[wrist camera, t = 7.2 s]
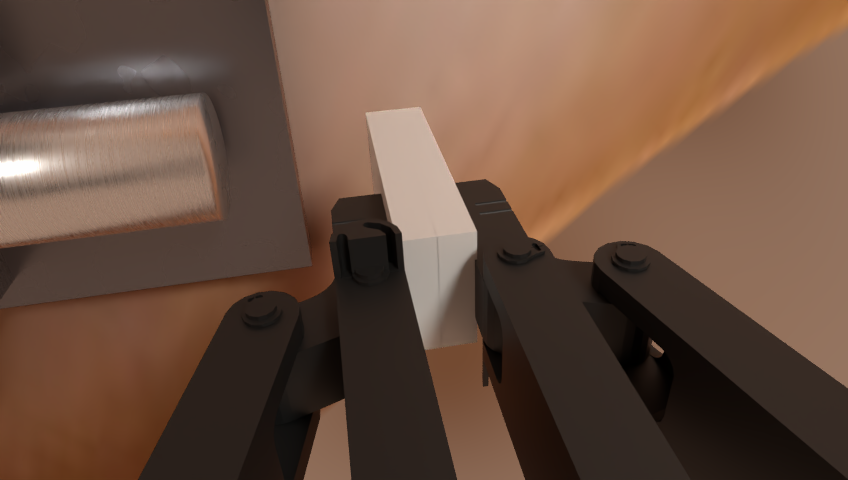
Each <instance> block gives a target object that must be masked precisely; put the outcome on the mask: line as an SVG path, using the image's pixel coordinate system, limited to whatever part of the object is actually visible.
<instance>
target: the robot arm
mask: <svg viewBox="0 0 848 480" xmlns="http://www.w3.org/2000/svg"><path fill="white" fill-rule="evenodd" d="M366 122H367V132H368V141H369V151H370V161H371V170H372V180H373V189H374V194H373V195H365V196H357V197H348V198H340V199H339V200H338V201H337V203H336V204H335V206H334V207H333V209H332V210H331V215H332V227H333V234H332V235H331V238H330V241H329V244H330V251H331V257H332V263H333V270H334V276H335V279H334V280H333V282H332V284H331V285H330V286H329V287H328V288H327V289H326V290H325V291H323V292H322V293H320V294H319V295H317V296H314V297H312V298H310V299H308V300H305V301H302V302H299V303H298V302H297V300H296V299H295V298H294V297H292V296H291V295H289V294H287V293H284V292H276V291H268V292H259V293H256V294H253V295H250V296H247V297H244V298H243V299H241V300H240V301H238V302H236V303H235V304H233V305H232V307H231V308H230V309H229V310H228V311H227V313H226V314H225V316H224V318H223V320H222V321H221V323H220V325H219V327H218V329H217V331H216V333H215V335H214V337H213V338H212V340H211V342H210V344H209V346H208V348H207V350H206V352H205V354H204V356H203V357H202V359H201V361H200V363H199V365H198V367H197V369H196V371H195V373H194V375H193V376H192V378H191V380H190V382H189V384H188V386H187V388H186V390H185V392H184V393H183V395H182V397H181V399H180V401H179V403H178V405H177V407H176V409H175V411H174V412H173V414H172V416H171V418H170V420H169V422H168V424H167V426H166V428H165V430H164V431H163V433H162V435H161V437H160V439H159V441H158V443H157V445H156V447H155V449H154V450H153V452H152V454H151V456H150V458H149V460H148V462H147V464H146V466H145V467H144V469H143V471H142V473H141V475H140V477H139V479H138V480H303V479H304V475H305V471H306V467H307V464H308V461H309V457H310V453H311V449H312V446H313V442H314V438H315V434H316V431H317V427H318V424H319V420H320V409H322V408H324V407H326V406H328V405H331V404H333V403H335V402H338V401H340V400H342V399H344V398H345V407H346V419H347V431H348V443H349V455H350V467H351V480H457V477H456V473H455V469H454V465H453V461H452V457H451V453H450V449H449V445H448V442H447V437H446V433H445V429H444V425H443V422H442V417H441V413H440V409H439V405H438V401H437V397H436V393H435V389H434V385H433V381H432V377H431V373H430V369H429V365H428V361H427V357H426V353H425V350H428V349H435V348H442V347H448V346H455V345H461V344H468V343H475V342H477V324H478V326H479V329H480V332H481V335H482V337H483V373H482V374H483V375H482V378H483V386H488V377H490V380H491V383H492V386H493V389H494V392H495V394H496V397H497V400H498V403H499V406H500V409H501V412H502V415H503V417H504V420H505V423H506V426H507V429H508V432H509V435H510V437H511V440H512V443H513V446H514V449H515V451H516V454H517V457H518V460H519V463H520V466H521V469H522V471H523V474H524V477H525V480H848V388H846V387H845V386H844V385H842V384H841V383H840V382H838V381H837V380H835V379H834V378H833V377H831V376H830V375H828V374H827V373H826V372H824V371H823V370H822V369H820V368H819V367H817V366H816V365H815V364H813V363H812V362H810V361H809V360H808V359H806V358H805V357H803V356H802V355H801V354H799V353H798V352H797V351H795V350H794V349H793V348H791V347H790V346H788V345H787V344H786V343H784V342H783V341H781V340H780V339H779V338H777V337H776V336H775V335H773V334H772V333H770V332H769V331H768V330H766V329H765V328H763V327H762V326H761V325H759V324H758V323H757V322H755V321H754V320H752V319H751V318H750V317H748V316H747V315H745V314H744V313H743V312H741V311H740V310H738V309H737V308H736V307H734V306H733V305H732V304H730V303H729V302H727V301H726V300H725V299H723V298H722V297H721V296H719V295H718V294H716V293H715V292H714V291H712V290H711V289H710V288H708V287H707V286H705V285H704V284H703V283H701V282H700V281H699V280H697V279H696V278H694V277H693V276H691V275H690V274H689V273H687V272H686V271H685V270H683V269H682V268H680V267H679V266H678V265H676V264H675V263H674V262H672V261H671V260H670V259H668V258H667V257H665V256H664V255H663V254H661V253H660V252H658V251H657V250H655V249H653V248H651V247H649V246H647V245H643V244H639V243H636V242H629V241H628V242H626V241H619V242H613V243H608V244H605V245H604V246H602V247H600V248H598V250H597V251H596V252H595V254H594V259H593V262H579V261H568V260H561V259H557V258H555V257H554V256H553V254H552V252H551V251H550V249H549V248H548V247H547V246H546V245H545V244H544V243H542V242H540V241H538V240H536V239H533V238H529V237H528V236H527V234H526V233H525V231H524V229H523V228H522V226H521V224H520V222H519V221H518V219H517V217H516V216H515V214H514V212H513V211H512V210H511V207H510V205H509V204H508V202H506V198H505V197H504V195H503V193H502V191H501V190H500V188H498V187H497V186H495V185H494V184H492V183H491V182H489V181H487V180H486V179H484V180H476V181H467V182H459V183H455V182H454V180H453V178H452V175H451V173H450V171H449V169H448V167H447V164H446V162H445V160H444V158H443V156H442V154H441V151H440V149H439V147H438V145H437V143H436V140H435V138H434V136H433V134H432V132H431V129H430V127H429V125H428V123H427V121H426V119H425V116H424V114H423V112H422V110H421V108H420V107H414V108H405V109H395V110H386V111H376V112H367V113H366ZM652 340H653V341H654V342H655V343H656V344H657V345H659V346H660V347H661V348H662V349H663V350H664V353H663V354H662V353H661V352H659V351H658V350H657V349H655V348H654V347H653V346H652V345H651V344H652Z"/></svg>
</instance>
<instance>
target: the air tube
mask: <svg viewBox="0 0 848 480" xmlns="http://www.w3.org/2000/svg"><path fill="white" fill-rule="evenodd" d="M229 211H230V179H229V170H228V162H227V156H226V150H225V145H224V140H223V136H222V132H221V128H220V124H219V120H218V117H217V114H216V111H215V109H214V106H213V104H212V102H211V100H210V98H209V96H208V95H207V94H206V93H203V92H202V93H192V94H183V95H173V96H163V97H153V98H144V99H134V100H124V101H114V102H105V103H95V104H85V105H75V106H66V107H56V108H46V109H36V110H27V111H17V112H7V113H0V248H8V247H16V246H24V245H32V244H40V243H48V242H55V241H63V240H71V239H79V238H87V237H95V236H103V235H111V234H119V233H127V232H135V231H142V230H150V229H158V228H166V227H174V226H182V225H190V224H198V223H206V222H214V221H221V220H226V219H227V218H228V215H229Z"/></svg>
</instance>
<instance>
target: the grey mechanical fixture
mask: <svg viewBox="0 0 848 480" xmlns="http://www.w3.org/2000/svg"><path fill="white" fill-rule="evenodd" d="M202 92H203V93H206V94H207V95H208V96H209V98H210V100H211V102H212V104H213V106H214V109H215V111H216V114H217V117H218V120H219V124H220V128H221V132H222V136H223V140H224V145H225V150H226V156H227V162H228V170H229V179H230V211H229V215H228V218H227V219H226V220H221V221H214V222H206V223H198V224H190V225H182V226H174V227H166V228H158V229H150V230H142V231H135V232H127V233H119V234H111V235H103V236H95V237H87V238H79V239H71V240H63V241H55V242H48V243H40V244H32V245H24V246H16V247H8V248H0V309H2V308H9V307H17V306H24V305H31V304H39V303H46V302H53V301H61V300H68V299H75V298H82V297H90V296H97V295H104V294H112V293H119V292H126V291H134V290H141V289H148V288H155V287H163V286H170V285H177V284H185V283H192V282H199V281H206V280H214V279H221V278H228V277H236V276H243V275H250V274H258V273H265V272H272V271H279V270H287V269H294V268H301V267H309V266H312V249H311V244H310V238H309V232H308V227H307V221H306V215H305V210H304V204H303V198H302V192H301V187H300V181H299V175H298V170H297V164H296V158H295V153H294V147H293V141H292V136H291V130H290V124H289V119H288V113H287V107H286V102H285V96H284V90H283V85H282V79H281V73H280V68H279V62H278V56H277V50H276V45H275V39H274V33H273V28H272V22H271V16H270V11H269V5H268V0H0V113H7V112H17V111H27V110H36V109H46V108H56V107H66V106H75V105H85V104H95V103H105V102H114V101H124V100H134V99H144V98H153V97H163V96H173V95H183V94H192V93H202Z"/></svg>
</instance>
